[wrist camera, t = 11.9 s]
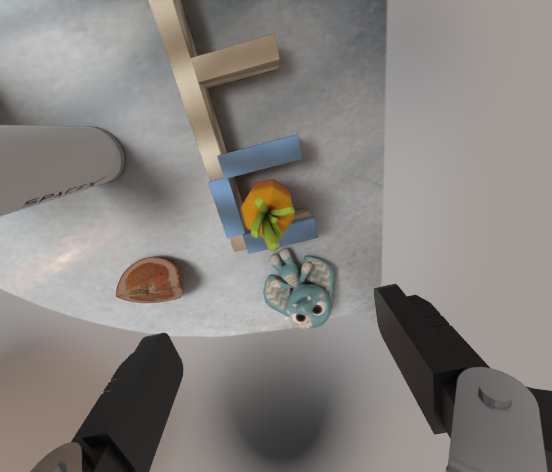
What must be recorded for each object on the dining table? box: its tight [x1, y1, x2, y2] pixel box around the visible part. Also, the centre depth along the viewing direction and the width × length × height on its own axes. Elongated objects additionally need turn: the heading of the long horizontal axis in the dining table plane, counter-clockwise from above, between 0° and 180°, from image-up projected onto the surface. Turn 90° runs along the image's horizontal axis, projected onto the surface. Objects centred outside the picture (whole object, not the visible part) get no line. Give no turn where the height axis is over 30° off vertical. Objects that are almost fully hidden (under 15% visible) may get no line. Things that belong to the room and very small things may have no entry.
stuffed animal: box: [263, 249, 334, 329], centre depth 35 cm, size 11×7×12 cm
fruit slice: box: [116, 257, 183, 303], centre depth 35 cm, size 8×7×5 cm
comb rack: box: [148, 0, 318, 254], centre depth 27 cm, size 29×10×5 cm, turn 14°
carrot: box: [241, 179, 295, 250], centre depth 26 cm, size 5×5×15 cm
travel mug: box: [0, 125, 125, 216], centre depth 22 cm, size 6×7×20 cm
